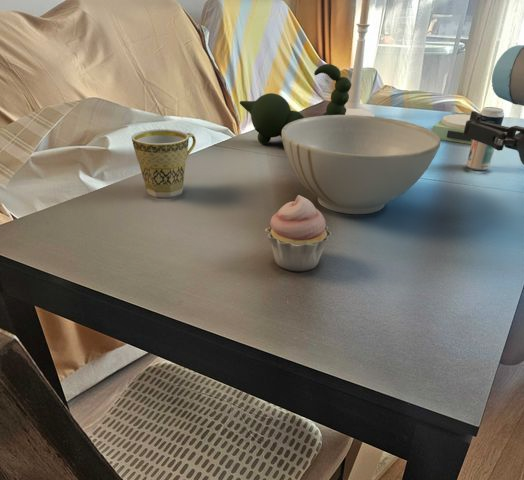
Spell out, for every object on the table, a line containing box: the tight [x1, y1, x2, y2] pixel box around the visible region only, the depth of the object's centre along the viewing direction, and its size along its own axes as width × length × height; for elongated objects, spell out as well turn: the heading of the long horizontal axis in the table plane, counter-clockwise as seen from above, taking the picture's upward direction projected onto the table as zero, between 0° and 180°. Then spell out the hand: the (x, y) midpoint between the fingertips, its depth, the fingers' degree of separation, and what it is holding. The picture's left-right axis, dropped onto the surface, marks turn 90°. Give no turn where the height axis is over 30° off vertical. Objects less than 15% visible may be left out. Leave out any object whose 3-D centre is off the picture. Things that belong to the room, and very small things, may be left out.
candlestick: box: [344, 0, 375, 117], centre depth 139 cm, size 13×13×30 cm
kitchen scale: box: [431, 113, 473, 145], centre depth 132 cm, size 14×14×4 cm
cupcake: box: [264, 194, 332, 272], centre depth 71 cm, size 9×9×10 cm
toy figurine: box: [239, 63, 352, 145], centre depth 117 cm, size 9×19×25 cm
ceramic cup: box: [131, 128, 197, 199], centre depth 93 cm, size 13×10×10 cm
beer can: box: [466, 106, 505, 172], centre depth 108 cm, size 5×5×12 cm
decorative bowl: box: [281, 115, 441, 215], centre depth 90 cm, size 27×27×12 cm
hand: (507, 120), depth 96 cm, fingers open, 13 cm apart
